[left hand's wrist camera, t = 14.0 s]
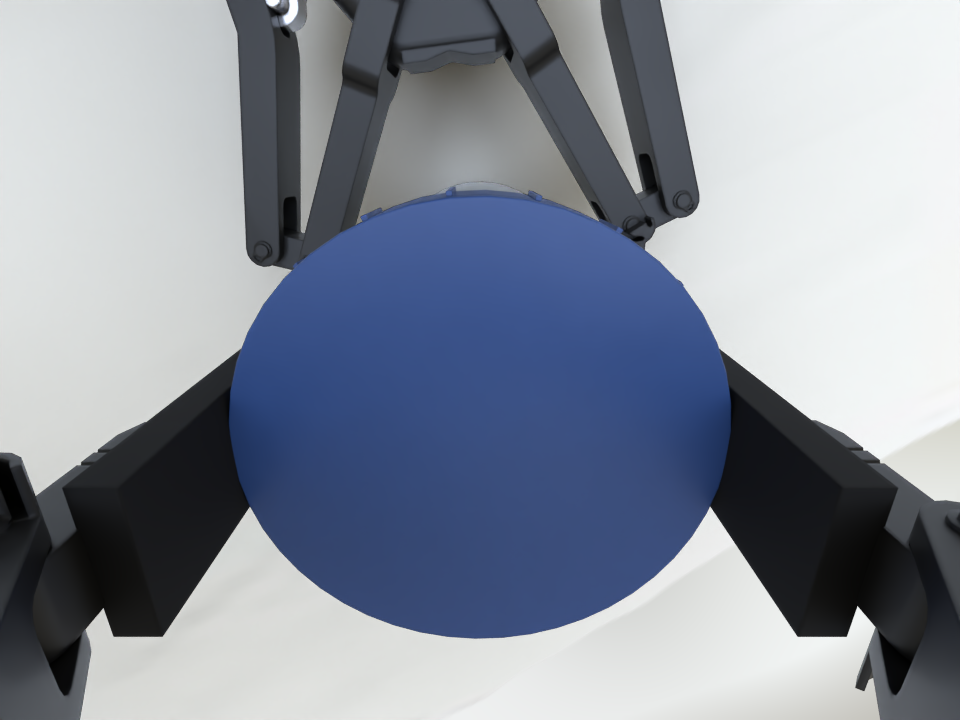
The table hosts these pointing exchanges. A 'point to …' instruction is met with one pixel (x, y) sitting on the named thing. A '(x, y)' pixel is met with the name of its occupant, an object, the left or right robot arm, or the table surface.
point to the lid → (480, 415)
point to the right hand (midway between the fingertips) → (491, 405)
